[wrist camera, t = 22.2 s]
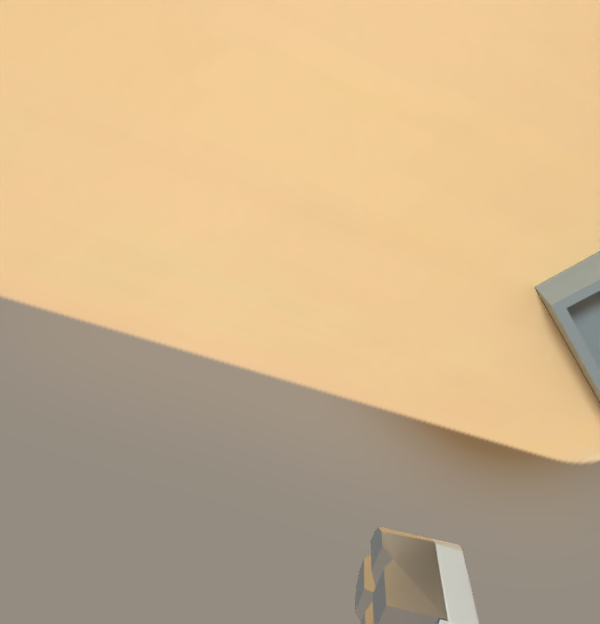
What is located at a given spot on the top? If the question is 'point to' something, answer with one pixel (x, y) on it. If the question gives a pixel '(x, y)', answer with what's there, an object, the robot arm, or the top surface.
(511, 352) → the top surface
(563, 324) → the tray
